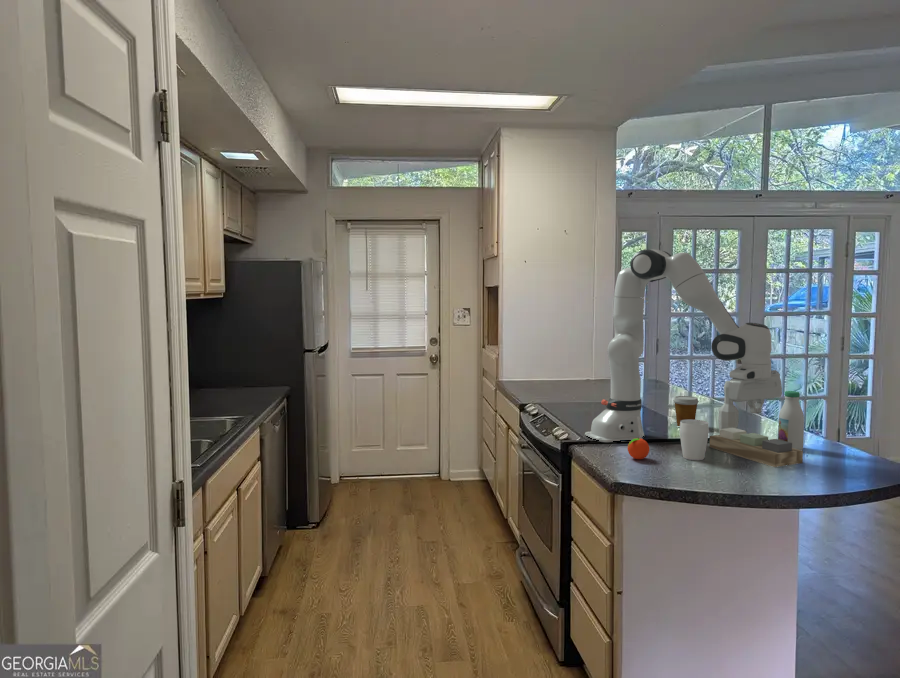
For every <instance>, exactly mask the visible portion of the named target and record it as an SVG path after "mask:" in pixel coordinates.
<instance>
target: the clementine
mask: <svg viewBox="0 0 900 678" xmlns="http://www.w3.org/2000/svg"><path fill="white" fill-rule="evenodd" d="M628 442H629V443H628V444H627V452H628V455H630V457H631V458H633V459H636V460H644V459H645V458H647V456H648V455H649V454H650V446H649V445H650V444H649V443H648V442H647V441H646V440H645V439H643V438H642V439H641V438H635V439H633V440H631V441H628Z"/></svg>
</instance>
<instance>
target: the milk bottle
mask: <svg viewBox="0 0 900 678" xmlns="http://www.w3.org/2000/svg"><path fill="white" fill-rule="evenodd" d="M800 393H801V392H799V391H796V390H786V391H784V398H785V399H784V402H783V405H782V406H781V408H780V411H779V414H778V428H777V429H778V430H777V431H778V434H777V439H779V440H783V441H787V442H791V443H792V448H795V449H798V450H802V451H803V449H804V435H805V434H804V433H805V432H804V431H805V425H804V424H805V416H804V415H805V414H804V412H803V409H802V407H801V404H800V396H801V394H800Z"/></svg>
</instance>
